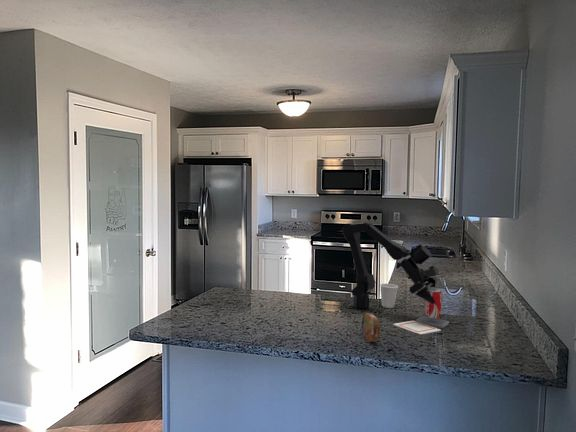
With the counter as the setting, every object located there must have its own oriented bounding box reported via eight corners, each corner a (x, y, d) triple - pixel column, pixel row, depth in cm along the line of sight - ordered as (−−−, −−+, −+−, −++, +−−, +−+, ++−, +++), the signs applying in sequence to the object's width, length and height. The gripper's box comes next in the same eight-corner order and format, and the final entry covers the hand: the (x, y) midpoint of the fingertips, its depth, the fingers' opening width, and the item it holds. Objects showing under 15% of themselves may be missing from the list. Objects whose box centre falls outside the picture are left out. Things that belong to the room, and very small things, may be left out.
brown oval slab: (360, 331, 170) (361, 309, 170) (368, 332, 171) (370, 309, 170) (371, 345, 155) (372, 321, 155) (380, 345, 156) (381, 321, 155)
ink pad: (415, 322, 187) (416, 319, 187) (422, 318, 194) (422, 315, 194) (442, 328, 181) (442, 325, 181) (448, 324, 187) (449, 321, 187)
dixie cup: (385, 303, 219) (386, 282, 218) (400, 307, 213) (401, 285, 212) (375, 305, 213) (376, 284, 212) (390, 309, 207) (391, 287, 206)
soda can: (439, 321, 183) (440, 293, 181) (421, 318, 187) (422, 290, 185) (443, 315, 189) (444, 287, 187) (426, 312, 193) (427, 285, 191)
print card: (392, 324, 182) (392, 323, 182) (413, 321, 189) (413, 320, 189) (420, 334, 171) (420, 333, 171) (441, 330, 177) (441, 329, 177)
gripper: (419, 261, 181) (445, 294, 175) (434, 257, 196) (458, 287, 190) (399, 277, 186) (423, 310, 180) (415, 272, 201) (438, 302, 195)
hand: (436, 301), depth 186 cm, fingers closed on soda can, 7 cm apart
